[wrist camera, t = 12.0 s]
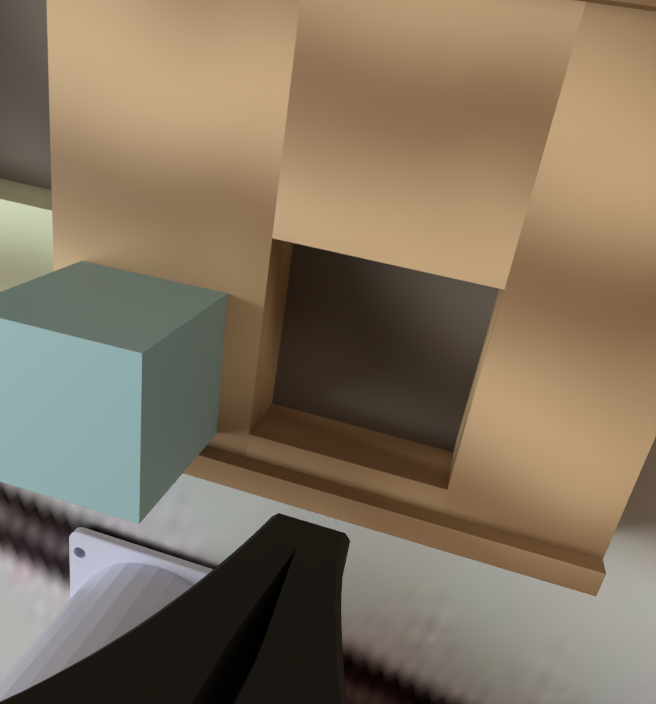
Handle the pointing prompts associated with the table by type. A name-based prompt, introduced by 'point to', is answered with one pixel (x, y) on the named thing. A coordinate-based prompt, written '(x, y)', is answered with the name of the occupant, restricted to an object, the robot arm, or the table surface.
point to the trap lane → (373, 242)
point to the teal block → (107, 385)
